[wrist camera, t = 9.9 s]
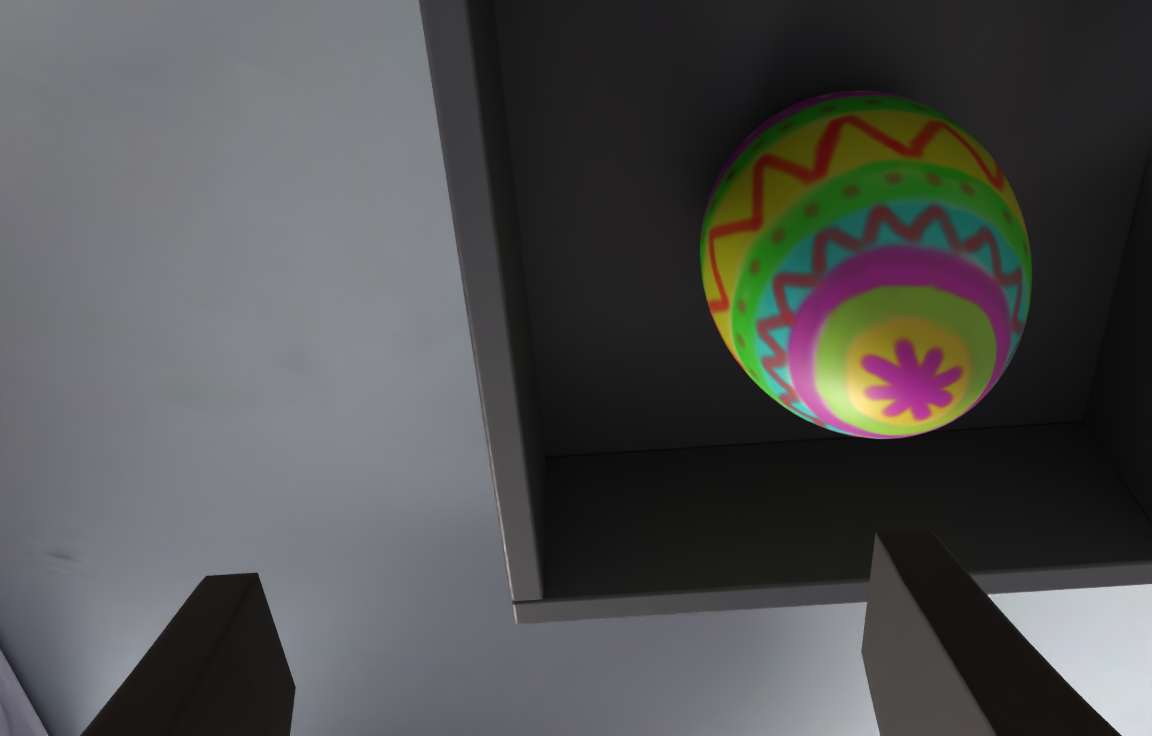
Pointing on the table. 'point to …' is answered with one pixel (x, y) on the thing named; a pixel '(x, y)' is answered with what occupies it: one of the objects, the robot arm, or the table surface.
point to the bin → (694, 344)
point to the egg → (867, 264)
